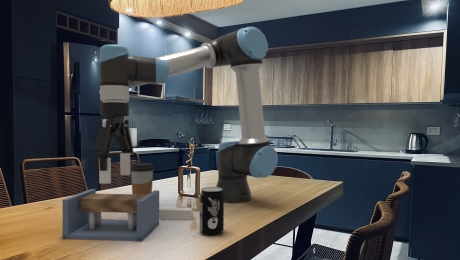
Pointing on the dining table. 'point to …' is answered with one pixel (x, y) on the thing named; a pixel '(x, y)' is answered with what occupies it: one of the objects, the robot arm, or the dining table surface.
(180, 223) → the dining table surface
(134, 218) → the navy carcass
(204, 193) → the beverage can
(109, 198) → the walnut board
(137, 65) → the robot arm
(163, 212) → the block
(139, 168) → the coffee cup
